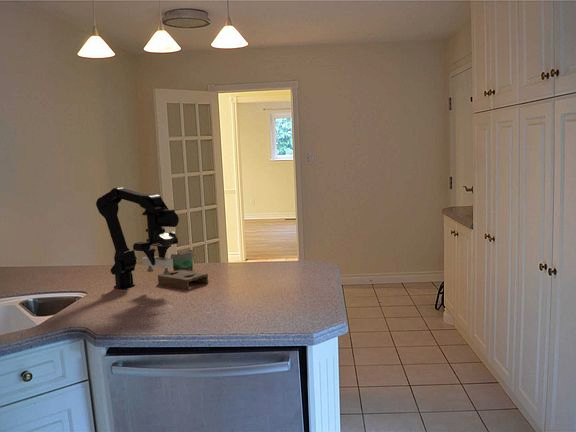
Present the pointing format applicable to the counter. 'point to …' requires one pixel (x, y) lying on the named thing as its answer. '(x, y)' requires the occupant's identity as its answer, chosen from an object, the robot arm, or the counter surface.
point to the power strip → (158, 264)
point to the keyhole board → (182, 278)
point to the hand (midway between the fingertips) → (157, 264)
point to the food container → (183, 261)
